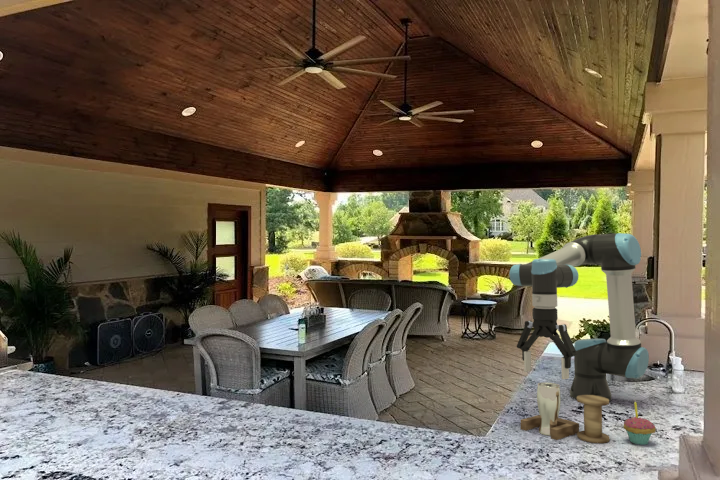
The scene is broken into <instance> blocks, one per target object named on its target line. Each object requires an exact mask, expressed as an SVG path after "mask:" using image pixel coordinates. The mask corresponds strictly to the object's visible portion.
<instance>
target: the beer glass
mask: <svg viewBox="0 0 720 480" xmlns="http://www.w3.org/2000/svg"><path fill="white" fill-rule="evenodd" d="M536 391H537V392H536V402H537V408H538V409H537V411H538V415H539V416H540V426H539V427H538V433H539V434H540V435H543V436H546V437H551V428H554V427H557V426H558V418H559V415H560V410H561V403H562V402H561V401H562V400H561V397H562V396H561V387H560V384H557V383H554V382H538V383H537V390H536Z"/></svg>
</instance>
